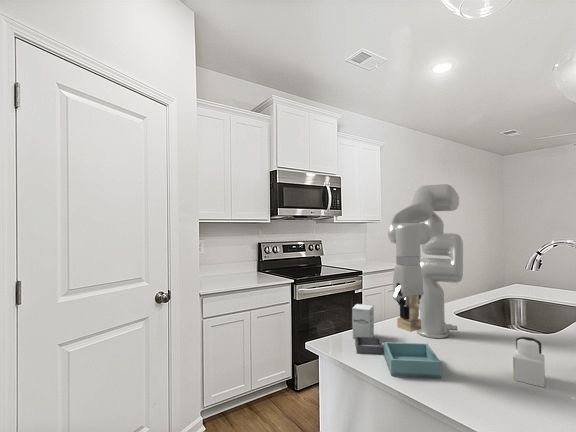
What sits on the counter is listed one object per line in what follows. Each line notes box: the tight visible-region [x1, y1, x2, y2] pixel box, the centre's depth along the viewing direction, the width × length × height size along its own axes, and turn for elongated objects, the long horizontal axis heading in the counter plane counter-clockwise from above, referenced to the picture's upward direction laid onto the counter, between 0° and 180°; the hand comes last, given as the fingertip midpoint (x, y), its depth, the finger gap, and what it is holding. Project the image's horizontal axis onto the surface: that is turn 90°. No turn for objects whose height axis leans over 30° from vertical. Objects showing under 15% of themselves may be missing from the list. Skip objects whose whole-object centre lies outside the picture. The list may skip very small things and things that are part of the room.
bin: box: [383, 341, 442, 379], centre depth 108 cm, size 15×15×5 cm
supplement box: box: [351, 303, 375, 339], centre depth 135 cm, size 7×7×13 cm
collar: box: [354, 336, 384, 355], centre depth 123 cm, size 10×10×2 cm
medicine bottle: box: [512, 336, 546, 388], centre depth 98 cm, size 7×7×12 cm
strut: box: [396, 294, 421, 333], centre depth 108 cm, size 5×5×12 cm
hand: (409, 316), depth 108 cm, fingers closed on strut, 4 cm apart
